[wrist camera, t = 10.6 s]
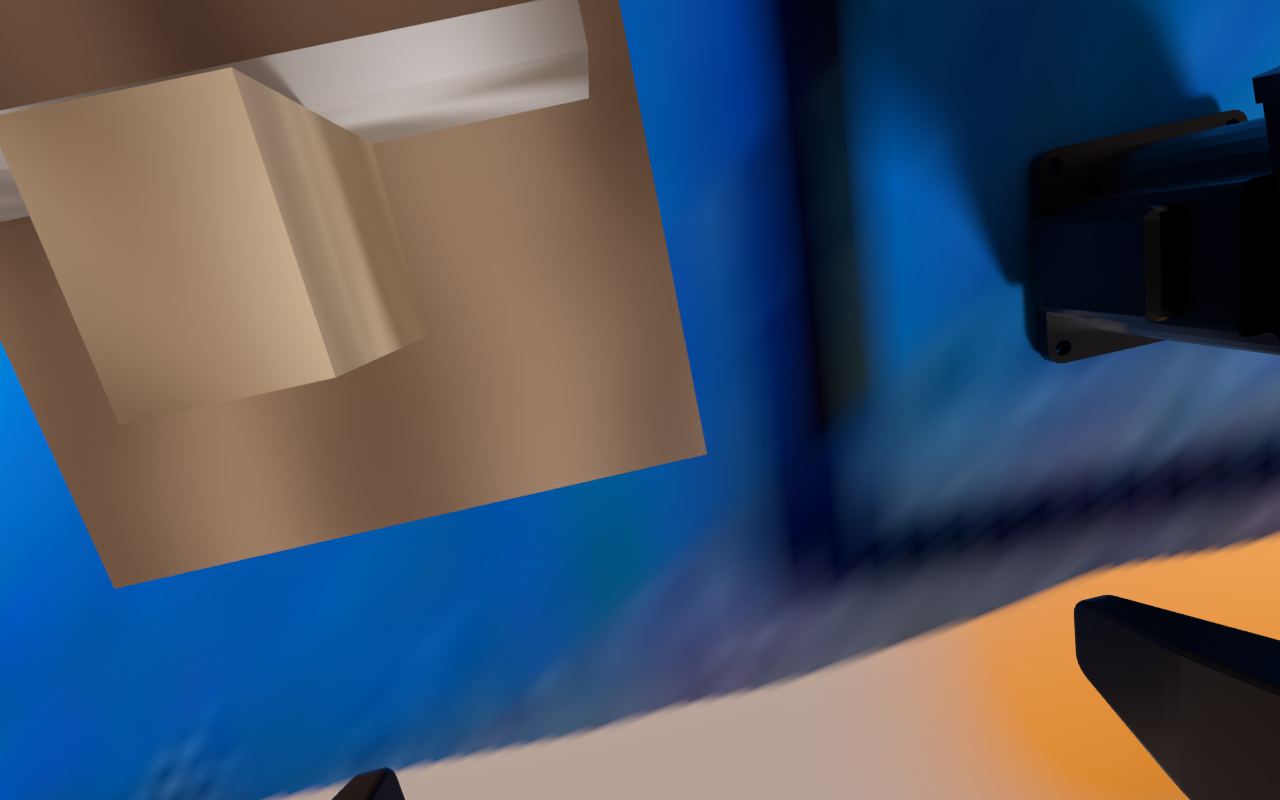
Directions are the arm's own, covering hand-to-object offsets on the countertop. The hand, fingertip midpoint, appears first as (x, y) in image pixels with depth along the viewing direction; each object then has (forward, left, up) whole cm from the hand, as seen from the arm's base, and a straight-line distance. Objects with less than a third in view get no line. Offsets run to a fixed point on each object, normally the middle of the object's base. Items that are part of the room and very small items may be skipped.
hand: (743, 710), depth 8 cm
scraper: (+6, -7, -7) cm, 12 cm away
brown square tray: (+6, -8, -12) cm, 16 cm away
